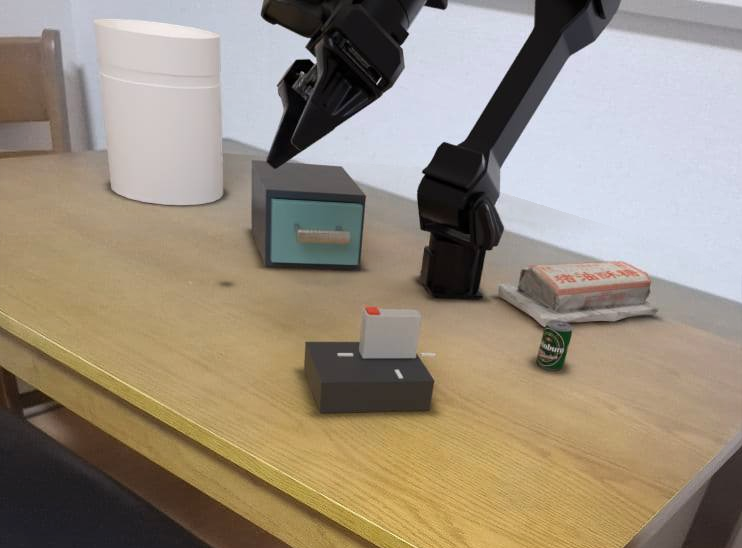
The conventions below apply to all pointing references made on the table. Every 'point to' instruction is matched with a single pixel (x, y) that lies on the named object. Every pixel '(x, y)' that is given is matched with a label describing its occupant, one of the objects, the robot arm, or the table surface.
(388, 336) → the dial
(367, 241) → the table surface
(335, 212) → the drawer
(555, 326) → the beer can
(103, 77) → the canister
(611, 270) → the packaged product
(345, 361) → the dial panel
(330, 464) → the table surface
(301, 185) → the cabinet
